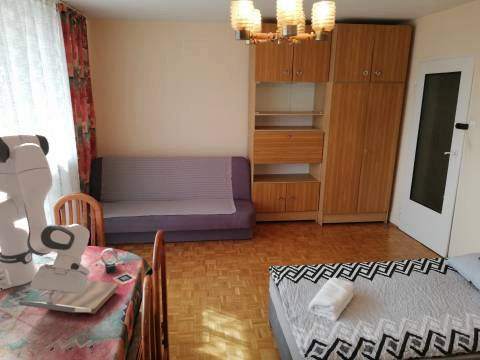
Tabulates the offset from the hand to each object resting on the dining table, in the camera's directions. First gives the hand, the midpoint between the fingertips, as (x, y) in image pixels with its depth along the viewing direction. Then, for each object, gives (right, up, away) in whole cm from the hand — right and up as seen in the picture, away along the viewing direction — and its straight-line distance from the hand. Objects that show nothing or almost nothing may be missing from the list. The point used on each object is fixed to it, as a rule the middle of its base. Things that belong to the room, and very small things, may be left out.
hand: (50, 304), depth 121 cm
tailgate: (+1, -4, +9) cm, 10 cm away
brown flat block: (+3, -6, +19) cm, 20 cm away
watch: (+4, 0, +45) cm, 45 cm away
